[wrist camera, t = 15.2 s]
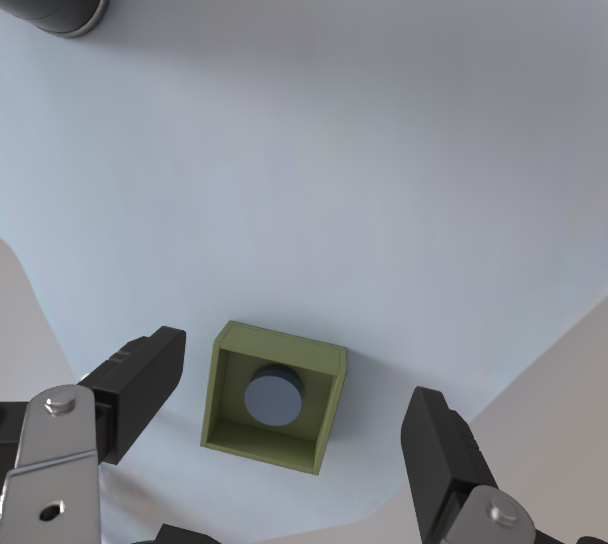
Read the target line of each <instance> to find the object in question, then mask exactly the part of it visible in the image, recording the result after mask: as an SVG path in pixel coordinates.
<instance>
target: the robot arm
mask: <svg viewBox="0 0 608 544" xmlns="http://www.w3.org/2000/svg"><path fill="white" fill-rule="evenodd" d="M107 2H108V0H0V9H1V10H3V11H6V12H8V13H10V14H12V15H14V16H16V17H18V18H20V19H22V20H25V21H27V22H29V23H31V24H33V25H35V26H36V27H38V28H39V29H41V30H43V31H45V32H48V33H50V34H52V35H55V36H58V37H64V38H72V37H77V36H80V35H83V34H85V33H87V32H88V31H90V30H91V29H92V28H93V27H94V26H95V25H96V24H97V23H98V22H99V20H100V19H101V17H102V15H103V14H104V11H105V9H106V6H107ZM185 344H186V332H185V331H184V330H180V329H175V328H171V327H167V326H162V327H161V328H159V329H158V330H157V331H156V332H155V333H154V334H152V335H151V336H150V337H145V336H143V337H140V338H138V339H135V340H133V341H130V342H128V343H127V344H126V345H125V346H123V347H122V348H121V349H120V350H118V352H117V353H115V354H113V355H112V356H111V357H110V358H109V360H106V361H105V362H104V363H102V364H101V365H100V366H99V367H97V368H96V369H95V370H94V371H92V372H91V373H90V374H89V375H87V376H86V377H85V378H84V379H83V380H81V381H80V382H79V383H78V384H76V385H62V386H57V387H53V388H50V389H47V390H45V391H43V392H41V393H39V394H38V395H36V396H35V397H34V398H33V399H32V400H31V401H30V402H0V496H1V501H0V544H101V522H100V497H99V473H98V466H99V465H100V463H101V462H106V463H110V464H114V465H117V464H118V463H119V462H120V460H121V459H122V458H123V456H124V455H125V454H126V452H127V451H128V450H129V448H130V447H131V446H132V445H133V443H134V442H135V441H136V439H137V438H138V437H139V435H140V434H141V433H142V431H143V430H144V429H145V428H146V426H147V425H148V424H149V422H150V421H151V420H152V418H153V417H154V416H155V414H156V413H157V412H158V410H159V409H160V408H161V407H162V405H163V404H164V403H165V401H166V400H167V399H168V397H169V396H170V395H171V393H172V392H173V391H174V390H175V388H176V387H177V385H178V383H179V381H180V378H181V375H182V371H183V363H184V353H185ZM401 445H402V450H403V455H404V459H405V464H406V469H407V474H408V478H409V483H410V488H411V493H412V497H413V502H414V507H415V512H416V517H417V521H418V526H419V531H420V536H421V540H422V544H564V543H562V542H560V541H558V540H556V539H554V538H552V537H550V536H548V535H546V534H544V533H542V532H541V531H539V530H537V529H535V526H534V523H533V521H532V519H531V518H530V516H529V514H528V513H527V511H526V510H525V509H524V508H523V507H522V506H521V505H520V504H519V503H518V502H517V501H516V500H515V499H514V498H512V497H511V496H509V495H508V494H506V493H505V492H503V491H501V490H499V488H498V486H497V484H496V482H495V480H494V478H493V476H492V474H491V471H490V469H489V468H488V465H487V463H486V461H485V459H484V457H483V455H482V453H481V451H479V447H478V445H477V443H476V441H475V440H474V436H473V434H472V432H471V430H470V428H469V426H468V424H467V423H466V422H465V421H464V420H463V418H462V417H461V416H460V415H459V414H458V413H457V412H456V411H454V410H450V409H449V408H448V405H447V403H446V401H445V399H444V396H443V394H442V393H441V392H440V391H436V390H432V389H428V388H424V387H419V386H417V387H416V388H415V390H414V392H413V395H412V398H411V401H410V403H409V406H408V409H407V412H406V415H405V418H404V421H403V424H402V428H401ZM132 544H221V543H219V542H218V541H216V540H214V539H213V538H211V537H210V536H208V535H205V534H201V533H197V532H193V531H190V530H186V529H182V528H178V527H174V526H171V525H167V524H163V525H162V527H161V529H160V531H159V533H158V535H157V537H156V539H155V540H150V541H142V542H136V543H132ZM576 544H608V543H607V542H605V541H603V540H600V539H597V538H594V537H588V536H585V537H581V538H580V539H579V540H578V541H577V543H576Z"/></svg>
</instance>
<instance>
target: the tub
mask: <svg viewBox="0 0 608 544" xmlns="http://www.w3.org/2000/svg"><path fill="white" fill-rule="evenodd" d="M269 364H279V365H284V366H286V367H289V368H290V369H292V370H293V371H295V372H296V373H297V374H298V375H299V377H300V378H301V380H302V382H303V385H304V398H303V403H302V409H301V412H300V414H299V415H298V417H297V418H296V419H295V420H293V421H292V422H290V423H288V424H286V425H282V426H270V425H266V424H263V423H261V422H259V421H257V420H256V419H255V418H254V417H252V416H251V414H250V413H249V412H248V410H247V408H246V406H245V402H244V394H245V390H246V388H247V386H248V384H249V381H250V379H251V377H252V375H253V374H254V372H255V371H256V370H258V369H259V368H261V367H263V366H265V365H269ZM346 372H347V370H346V348H345V347H341V346H336V345H332V344H328V343H323V342H319V341H315V340H310V339H306V338H302V337H298V336H293V335H289V334H285V333H280V332H276V331H272V330H267V329H263V328H259V327H254V326H250V325H246V324H242V323H237V322H233V321H229V322H228V323H227V324H226V326H225V327H224V328H223V330H222V331H221V332H220V334H219V335H218V336H217V338H216V339H215V340H214V344H213V352H212V359H211V367H210V375H209V382H208V390H207V397H206V405H205V413H204V420H203V428H202V436H201V443H200V446H202V447H206V448H209V449H213V450H217V451H221V452H225V453H229V454H233V455H237V456H241V457H245V458H249V459H253V460H257V461H261V462H265V463H269V464H273V465H277V466H281V467H285V468H289V469H293V470H297V471H301V472H305V473H309V474H314V475H319V471H320V467H321V464H322V460H323V456H324V453H325V449H326V445H327V442H328V438H329V434H330V431H331V427H332V423H333V420H334V416H335V413H336V409H337V405H338V402H339V398H340V394H341V391H342V387H343V383H344V380H345V376H346Z"/></svg>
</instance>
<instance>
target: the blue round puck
mask: <svg viewBox="0 0 608 544" xmlns="http://www.w3.org/2000/svg"><path fill="white" fill-rule="evenodd" d="M303 398H304V385H303V382H302V380H301V378H300V377H299V375H298V374H297V373H296V372H295V371H293V370H292V369H290V368H289V367H286V366H284V365H279V364H269V365H265V366H263V367H261V368H259V369H258V370H256V371H255V372H254V374H253V375H252V377H251V379H250V381H249V384H248V386H247V388H246V390H245V394H244V402H245V406H246V408H247V410H248V412H249V413H250V414H251V416H252V417H254V418H255V419H256V420H257V421H259V422H261V423H263V424H266V425H270V426H282V425H286V424H288V423H290V422H292V421H293V420H295V419H296V418H297V417H298V415H299V414H300V412H301V409H302V403H303Z"/></svg>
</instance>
